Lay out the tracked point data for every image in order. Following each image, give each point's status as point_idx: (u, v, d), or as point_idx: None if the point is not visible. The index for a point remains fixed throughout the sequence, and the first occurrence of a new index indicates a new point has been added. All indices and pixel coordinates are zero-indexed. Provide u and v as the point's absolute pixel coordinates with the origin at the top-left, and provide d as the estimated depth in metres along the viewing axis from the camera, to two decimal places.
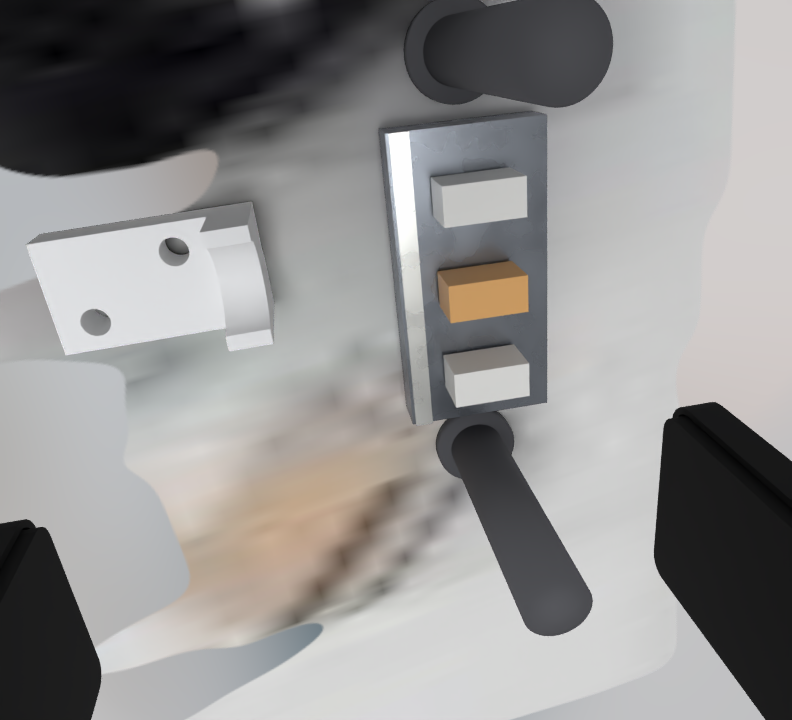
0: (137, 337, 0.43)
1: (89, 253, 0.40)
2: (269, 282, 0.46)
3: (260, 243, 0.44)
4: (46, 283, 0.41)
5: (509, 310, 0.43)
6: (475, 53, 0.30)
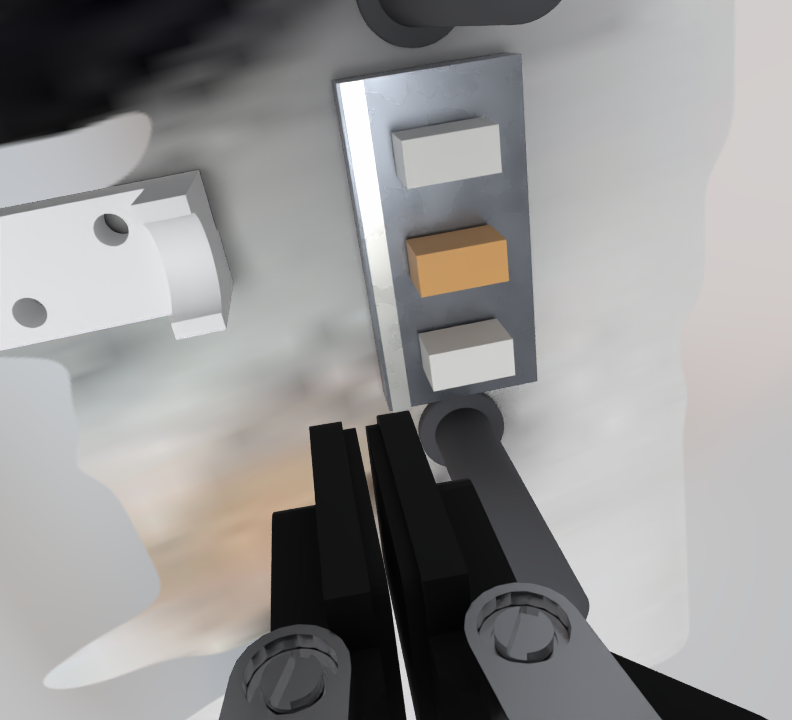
0: (78, 327, 0.38)
1: (14, 234, 0.36)
2: (225, 260, 0.41)
3: (211, 217, 0.39)
4: None
5: (487, 280, 0.38)
6: None
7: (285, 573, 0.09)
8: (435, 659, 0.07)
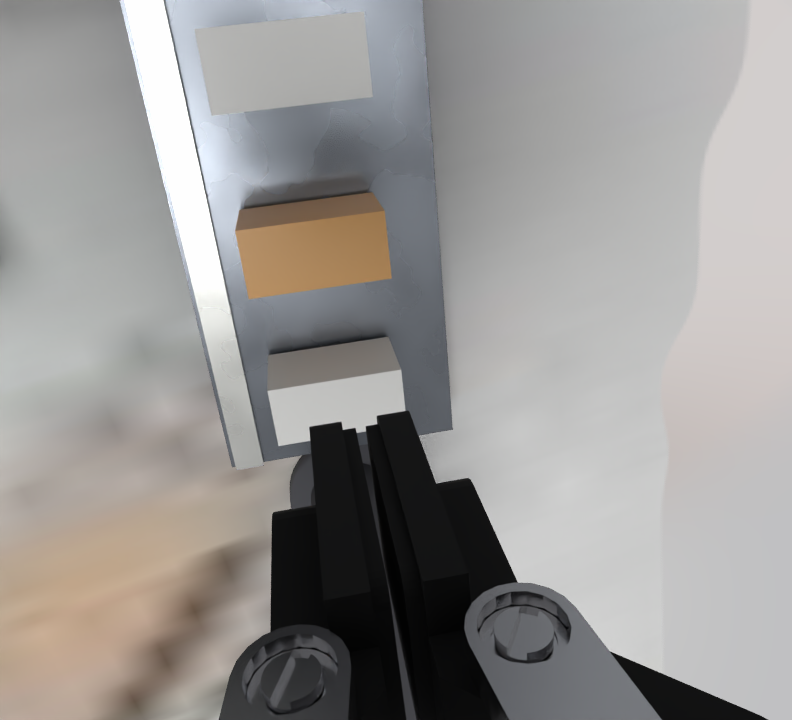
0: None
1: None
2: None
3: None
4: None
5: (356, 276, 0.24)
6: None
7: (285, 573, 0.09)
8: (435, 659, 0.07)
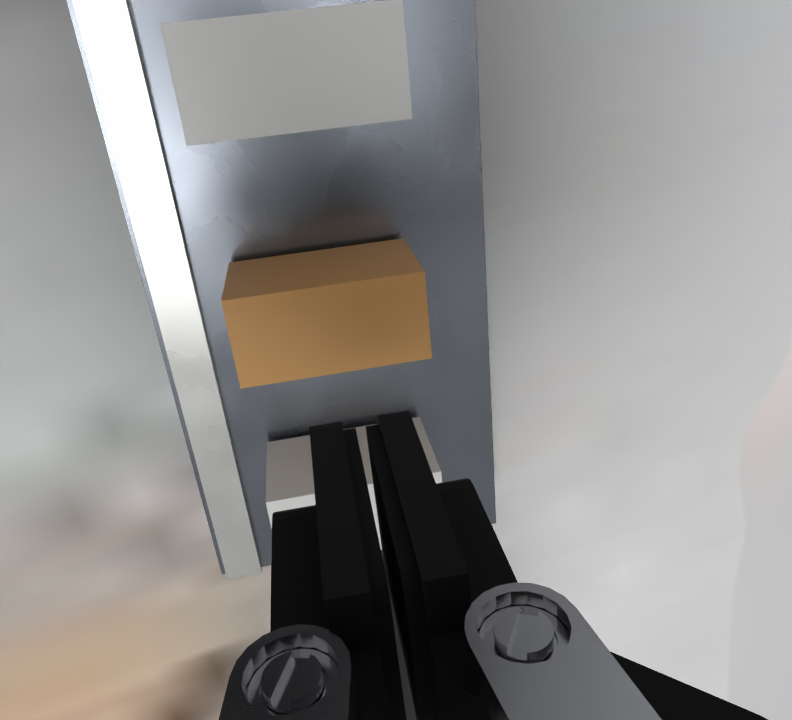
0: None
1: None
2: None
3: None
4: None
5: (384, 356, 0.18)
6: None
7: (285, 573, 0.09)
8: (435, 659, 0.07)
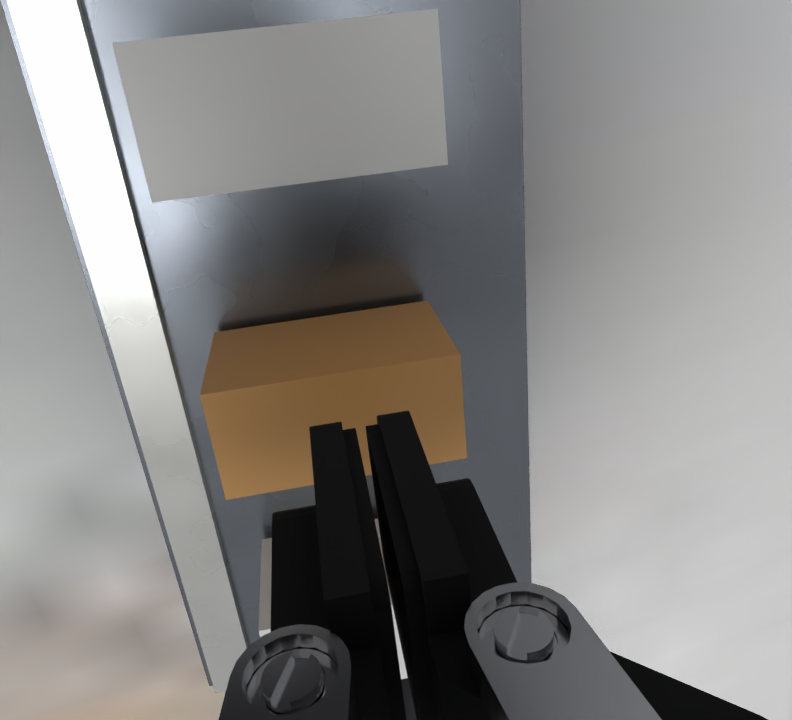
0: None
1: None
2: None
3: None
4: None
5: None
6: None
7: (285, 573, 0.09)
8: (435, 659, 0.07)
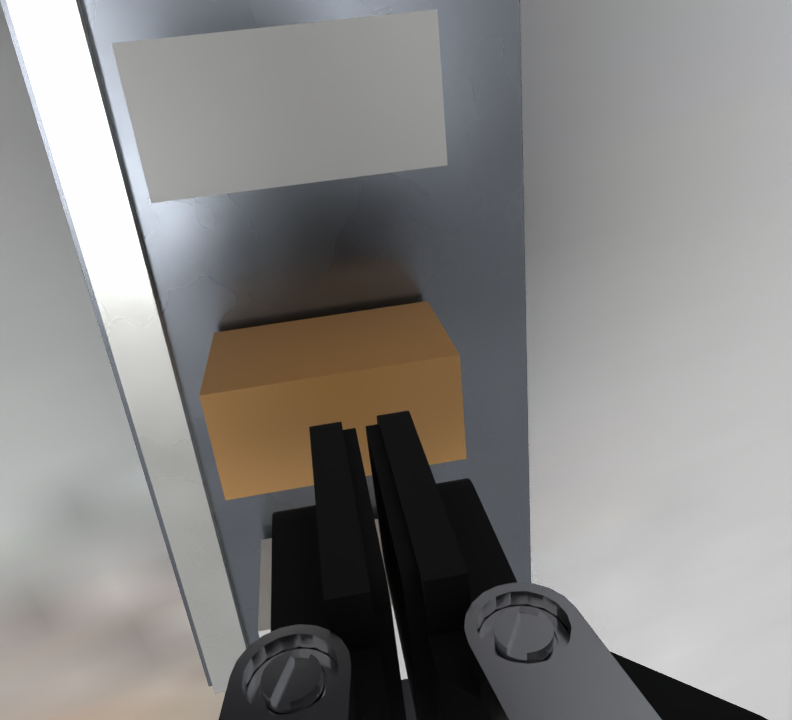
0: None
1: None
2: None
3: None
4: None
5: None
6: None
7: (285, 573, 0.09)
8: (435, 659, 0.07)
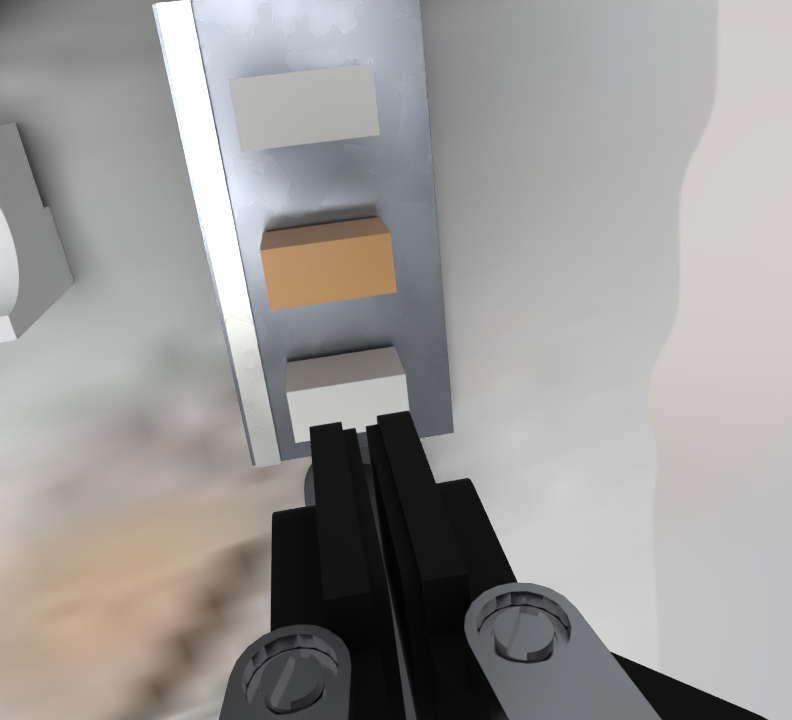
0: None
1: None
2: (59, 251, 0.30)
3: (33, 188, 0.29)
4: None
5: (365, 290, 0.27)
6: None
7: (285, 573, 0.09)
8: (435, 659, 0.07)
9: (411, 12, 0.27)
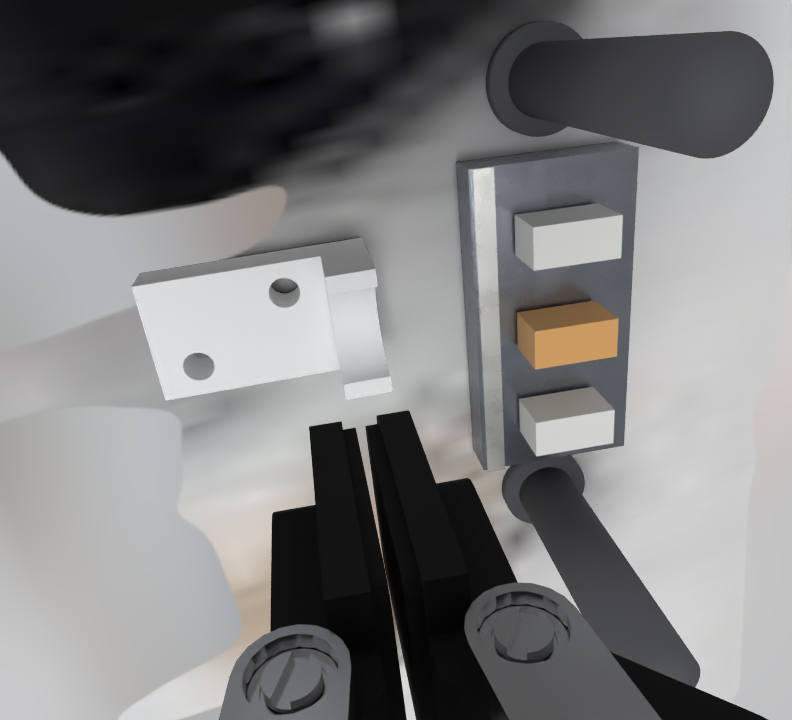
0: (240, 381, 0.40)
1: (196, 294, 0.38)
2: None
3: None
4: (150, 326, 0.38)
5: (597, 355, 0.40)
6: (598, 93, 0.27)
7: (285, 573, 0.09)
8: (435, 659, 0.07)
9: (631, 168, 0.39)
